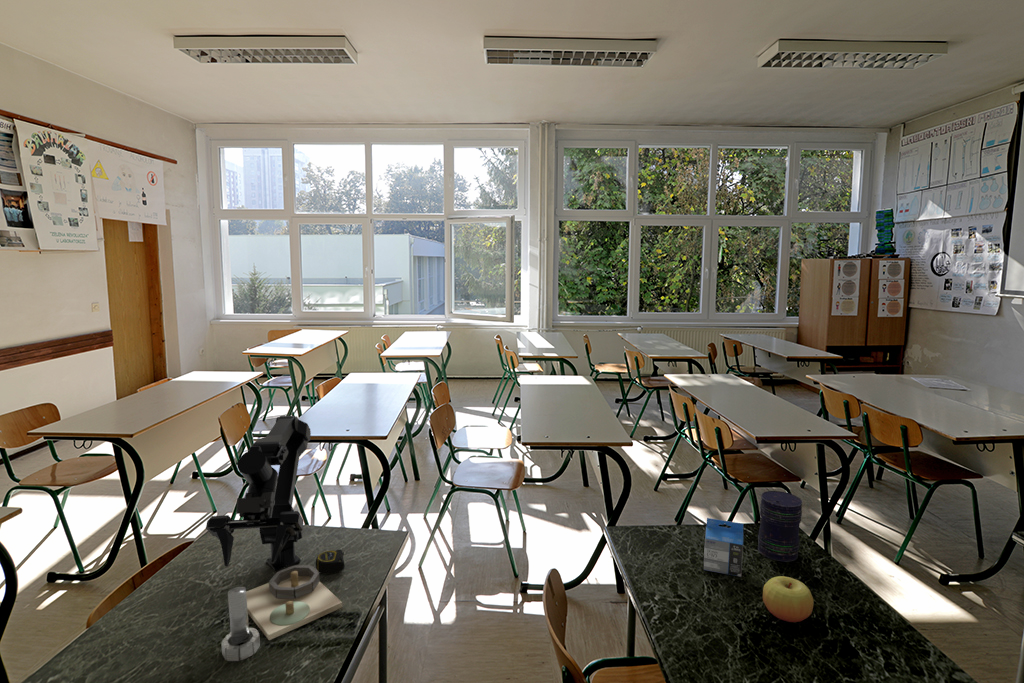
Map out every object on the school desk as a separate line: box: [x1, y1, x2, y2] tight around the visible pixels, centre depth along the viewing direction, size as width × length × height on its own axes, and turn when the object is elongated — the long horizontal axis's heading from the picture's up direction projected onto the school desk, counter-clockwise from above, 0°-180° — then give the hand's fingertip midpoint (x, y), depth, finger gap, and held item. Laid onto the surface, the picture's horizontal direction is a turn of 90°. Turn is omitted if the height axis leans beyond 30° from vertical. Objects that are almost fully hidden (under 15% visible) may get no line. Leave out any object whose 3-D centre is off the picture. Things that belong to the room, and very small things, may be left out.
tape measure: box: [315, 549, 345, 575], centre depth 140 cm, size 7×7×4 cm
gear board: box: [246, 564, 343, 641], centre depth 126 cm, size 19×16×4 cm
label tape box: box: [703, 517, 744, 578], centre depth 139 cm, size 9×4×12 cm, turn 68°
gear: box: [220, 586, 261, 662], centre depth 110 cm, size 6×6×12 cm
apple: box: [762, 575, 815, 623], centre depth 122 cm, size 10×10×8 cm
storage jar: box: [757, 490, 803, 563], centre depth 148 cm, size 10×10×15 cm
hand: (249, 564), depth 117 cm, fingers open, 9 cm apart
